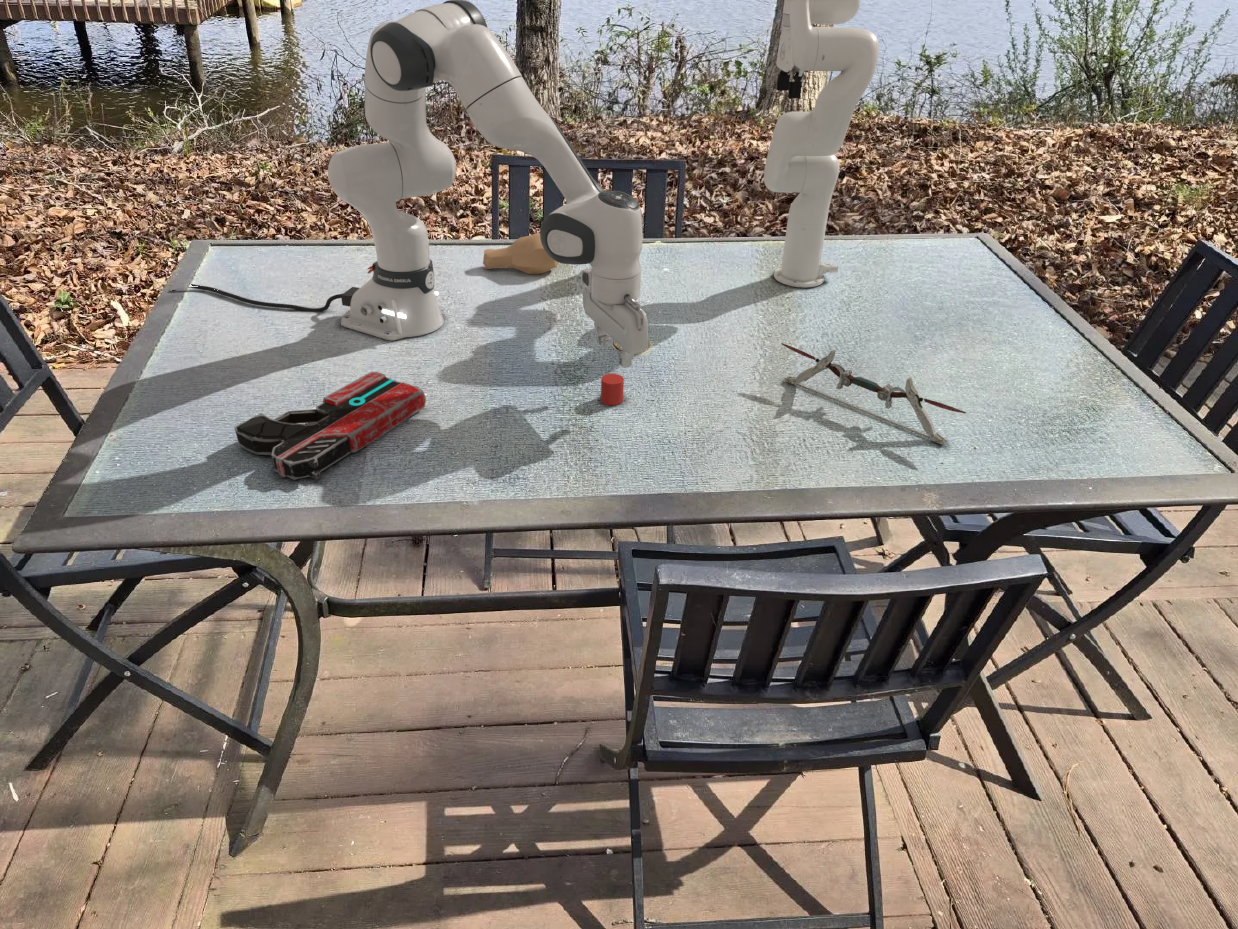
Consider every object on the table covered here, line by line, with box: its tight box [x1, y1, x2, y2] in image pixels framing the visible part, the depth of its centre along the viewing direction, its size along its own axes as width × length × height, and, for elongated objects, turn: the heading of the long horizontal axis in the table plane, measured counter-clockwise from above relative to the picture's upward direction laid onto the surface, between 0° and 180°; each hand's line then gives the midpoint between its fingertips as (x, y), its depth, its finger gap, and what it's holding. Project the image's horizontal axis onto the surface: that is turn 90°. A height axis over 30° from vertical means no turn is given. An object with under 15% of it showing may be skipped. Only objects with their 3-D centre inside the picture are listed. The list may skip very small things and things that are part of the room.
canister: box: [600, 373, 625, 406], centre depth 168 cm, size 4×4×5 cm
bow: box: [780, 342, 967, 445], centre depth 165 cm, size 39×2×10 cm, turn 47°
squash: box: [482, 232, 560, 275], centre depth 222 cm, size 11×20×9 cm, turn 90°
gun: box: [234, 371, 427, 481], centre depth 156 cm, size 4×31×19 cm
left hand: (613, 354), depth 164 cm, fingers open, 8 cm apart
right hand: (788, 93), depth 230 cm, fingers open, 9 cm apart
